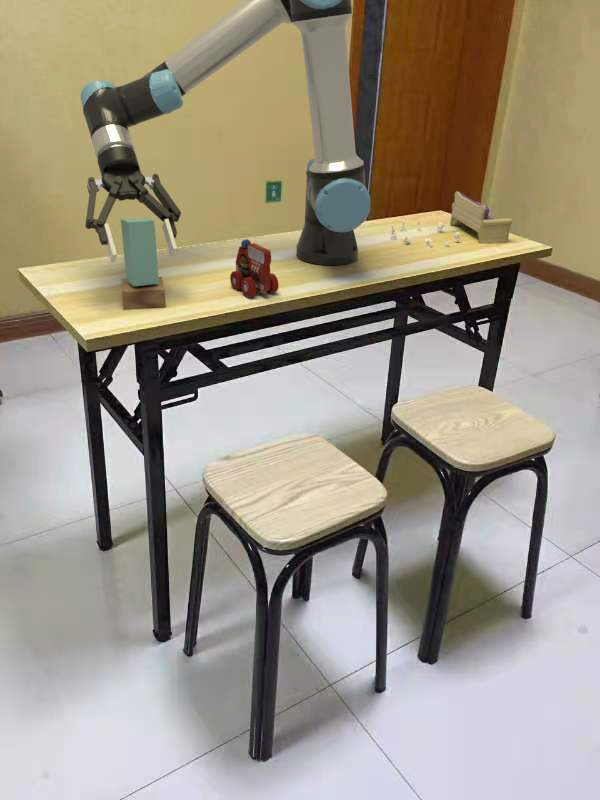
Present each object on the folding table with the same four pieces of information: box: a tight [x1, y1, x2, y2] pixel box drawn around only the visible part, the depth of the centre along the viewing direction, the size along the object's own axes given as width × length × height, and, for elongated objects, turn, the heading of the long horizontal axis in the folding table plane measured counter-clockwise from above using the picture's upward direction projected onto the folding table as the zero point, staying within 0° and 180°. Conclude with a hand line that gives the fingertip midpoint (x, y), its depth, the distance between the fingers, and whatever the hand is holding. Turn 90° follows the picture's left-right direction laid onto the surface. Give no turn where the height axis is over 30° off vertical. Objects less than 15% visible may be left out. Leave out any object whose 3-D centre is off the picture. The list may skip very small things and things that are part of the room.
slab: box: [120, 276, 167, 311], centre depth 136 cm, size 8×8×4 cm
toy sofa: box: [449, 191, 513, 244], centre depth 192 cm, size 21×9×10 cm, turn 13°
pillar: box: [120, 217, 160, 286], centre depth 133 cm, size 5×5×12 cm
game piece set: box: [390, 219, 461, 249], centre depth 187 cm, size 19×20×4 cm
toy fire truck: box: [230, 239, 280, 298], centre depth 143 cm, size 7×12×10 cm, turn 33°
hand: (144, 255), depth 130 cm, fingers open, 11 cm apart
